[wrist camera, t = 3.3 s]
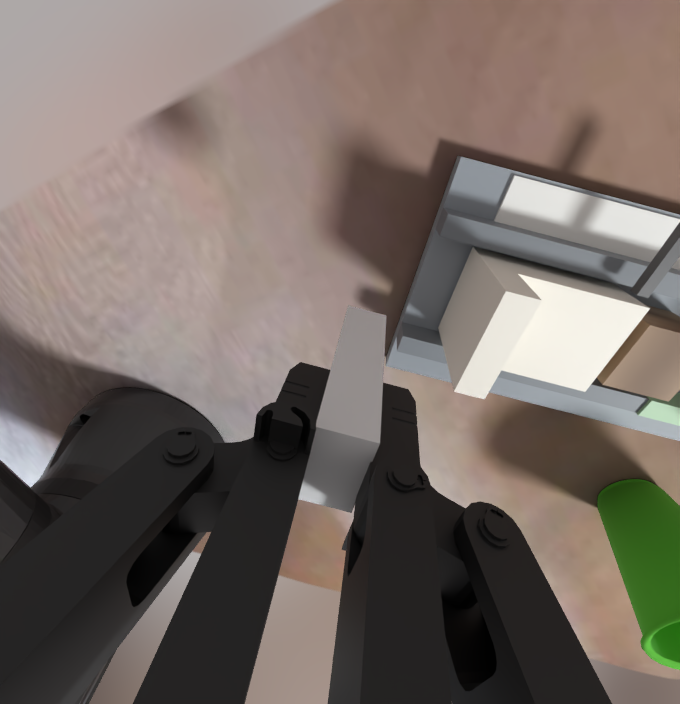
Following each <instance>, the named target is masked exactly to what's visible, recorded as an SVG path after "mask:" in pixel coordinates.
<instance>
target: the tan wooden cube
mask: <svg viewBox="0 0 680 704" xmlns="http://www.w3.org/2000/svg"><path fill="white" fill-rule="evenodd" d="M646 306H647V307H649V308H650V309H649V311H648V312H647V313H646V315H645V316H644V317H643V318H642V320H641V321H640V322H639V324H638V325H637V326H636V327H635V329H634V330H633V331H632V333H631V334H630V335H629V336H628V338H627V339H626V340H625V342H624V343H623V344H622V345H621V347H620V348H619V349H618V351H617V352H616V353H615V354H614V356H613V357H612V358H611V360H610V361H609V362H608V363H607V365H606V366H605V367H604V368H603V370H602V371H601V372H600V374H599V375H598V376H597V377H596V378H597V379H598V380H599V381H600V382H601V383H602V385H606V386H610V387H614V388H617V389H621V390H625V391H629V392H633V393H637V394H641V395H645V396H649V397H652V398H656V399H660V400H664V401H668V402H669V401H670V400H671V399H672V398H673V397H674V395H675V394H676V393H677V392H678V391H679V390H680V317H679V316H678V315H676V314H674V313H673V312H671V311H667V310H663V309H659V308H655V307H651V306H648V305H646Z"/></svg>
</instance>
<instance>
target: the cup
mask: <svg viewBox="0 0 680 704" xmlns="http://www.w3.org/2000/svg"><path fill="white" fill-rule="evenodd" d="M597 501H598V503H597V507H598V510H599V513H600V516H601V519H602V522H603V525H604V527H605V530H606V533H607V536H608V539H609V541H610V544H611V547H612V550H613V553H614V556H615V558H616V561H617V564H618V567H619V570H620V573H621V575H622V578H623V581H624V584H625V587H626V589H627V592H628V595H629V598H630V601H631V604H632V606H633V609H634V612H635V615H636V618H637V621H638V623H639V626H640V629H641V632H642V635H643V637H642V639H641V647H642V649H643V650H644V651H645V652H646V654H647V655H648V656H649V657H650V658H651V659H653V660H655V661H656V662H658V663H660V664H662V665H665V666H668V667H671V668H674V669H679V670H680V506H679V505H678V504H677V503H676V502H675V501H674V500H673V499H672V498H671V497H670V496H669V495H668V494H667V493H666V492H665V491H664V490H662V489H661V488H660V487H659V486H656V485H654V484H653V483H651V482H649V481H646V480H641V479H629V480H623V481H619V482H616V483H613V484H611V485H609V486H607V487H606V488H604V489H603V490H602V491H601V492H600V494H599V495H598V499H597Z"/></svg>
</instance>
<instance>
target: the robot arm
mask: <svg viewBox="0 0 680 704" xmlns="http://www.w3.org/2000/svg"><path fill="white" fill-rule="evenodd" d="M385 334H386V315H383V314H379V313H375V312H372V311H368V310H364V309H360V308H356V307H353V306H349V305H348V308H347V312H346V316H345V319H344V323H343V327H342V330H341V334H340V338H339V341H338V345H337V349H336V352H335V356H334V359H333V363H332V367H331V370H328V369H324V368H321V367H317V366H313V365H309V364H305V363H302V362H300V363H299V364H297V365H296V366H295V367H293V368H292V369H291V370H290V371H289V373H288V376H287V378H286V380H285V383H284V385H283V387H282V389H281V392H280V394H279V396H278V398H277V400H276V402H274V403H270V404H268V405H266V406H264V407H263V408H262V409H261V410H260V411H259V412H258V414H257V416H256V424H255V432H254V437H253V438H251V439H248V440H245V441H242V442H234V443H224V441H223V439H222V437H221V436H220V434H219V433H218V432H217V430H216V429H215V428H214V427H213V426H212V425H211V424H210V423H209V422H208V421H207V420H206V419H205V418H204V417H203V416H201V415H200V414H199V413H198V412H196V411H195V410H193V409H192V408H190V407H189V406H187V405H185V404H184V403H182V402H180V401H178V400H176V399H174V398H171V397H169V396H166V395H164V394H161V393H158V392H154V391H150V390H145V389H138V388H118V389H113V390H109V391H106V392H103V393H101V394H99V395H98V396H96V397H95V398H94V399H92V400H91V401H90V402H89V403H88V404H87V405H86V406H85V407H84V408H82V409H81V410H80V411H79V412H78V413H77V414H76V415H75V417H74V418H73V419H72V421H71V423H70V424H69V426H68V428H67V430H66V432H65V434H64V435H63V437H62V439H61V441H60V443H59V445H58V447H57V448H56V450H55V452H54V454H53V456H52V458H51V460H50V461H49V463H48V465H47V467H46V469H45V471H44V473H43V475H42V476H41V477H40V479H39V480H38V481H37V482H36V483H35V484H34V485H33V486H32V487H31V488H30V487H29V486H28V485H27V484H26V483H25V482H24V481H23V480H21V479H20V478H19V477H18V476H17V475H16V474H15V473H14V472H13V471H12V470H11V469H9V468H8V467H7V466H6V465H5V464H4V463H3V462H2V461H1V460H0V704H89V702H90V700H91V698H92V696H93V694H94V692H95V690H96V688H97V687H98V684H99V683H100V681H101V679H102V676H103V675H104V673H105V671H106V669H107V667H108V665H109V663H110V661H111V659H112V657H113V655H114V653H115V652H116V650H117V648H118V647H119V645H120V644H121V643H122V642H123V640H124V639H125V638H126V636H127V635H128V634H129V632H130V631H131V630H132V628H133V627H134V626H135V624H136V623H137V622H138V621H139V619H140V618H141V617H142V615H143V614H144V613H145V611H146V610H147V609H148V608H149V606H150V605H151V604H152V602H153V601H154V600H155V598H156V597H157V596H158V595H159V593H160V592H161V591H162V589H163V588H164V587H165V586H166V584H167V583H168V582H169V580H170V579H171V578H172V576H173V575H174V574H175V572H176V571H177V570H178V569H179V567H180V566H181V565H182V563H183V562H184V561H185V559H186V558H187V557H188V556H189V554H190V553H191V552H192V550H193V549H194V548H195V546H196V545H197V544H198V543H199V541H200V540H201V539H202V537H203V536H204V535H205V533H206V532H211V534H210V536H209V539H208V541H207V543H206V545H205V547H204V550H203V552H202V554H201V556H200V558H199V561H198V563H197V565H196V567H195V569H194V572H193V574H192V576H191V578H190V580H189V583H188V585H187V587H186V589H185V591H184V593H183V595H182V598H181V600H180V602H179V605H178V606H177V609H176V611H175V613H174V615H173V618H172V619H171V622H170V624H169V626H168V628H167V630H166V633H165V635H164V637H163V639H162V641H161V643H160V646H159V648H158V650H157V652H156V654H155V657H154V659H153V661H152V663H151V665H150V668H149V670H148V672H147V674H146V677H145V679H144V681H143V683H142V685H141V687H140V689H139V692H138V694H137V696H136V698H135V700H134V702H133V704H245V700H246V696H247V692H248V688H249V685H250V681H251V677H252V673H253V669H254V666H255V661H256V658H257V654H258V650H259V646H260V643H261V639H262V635H263V631H264V628H265V624H266V620H267V616H268V612H269V609H270V604H271V601H272V597H273V593H274V589H275V586H276V582H277V578H278V574H279V570H280V567H281V563H282V559H283V555H284V551H285V548H286V544H287V540H288V536H289V532H290V529H291V525H292V521H293V517H294V513H295V509H296V506H297V502H298V499H300V500H304V501H308V502H312V503H316V504H320V505H323V506H327V507H331V508H335V509H339V510H343V511H346V512H350V513H352V510H353V508H354V505H355V511H354V520H353V522H352V525H351V527H350V529H349V532H348V534H347V536H346V539H345V541H344V544H343V547H342V550H346V557H345V565H344V573H343V582H342V590H341V598H340V607H339V615H338V623H337V632H336V640H335V649H334V656H333V664H332V673H331V681H330V689H329V698H328V704H612V703H611V701H610V699H609V697H608V695H607V693H606V692H605V690H604V688H603V686H602V684H601V682H600V680H599V678H598V676H597V674H596V673H595V671H594V669H593V667H592V665H591V663H590V661H589V659H588V657H587V655H586V653H585V652H584V650H583V648H582V646H581V644H580V642H579V640H578V638H577V636H576V634H575V633H574V631H573V629H572V627H571V625H570V623H569V621H568V619H567V617H566V615H565V614H564V612H563V610H562V608H561V606H560V604H559V602H558V600H557V598H556V596H555V595H554V593H553V591H552V589H551V587H550V585H549V583H548V581H547V579H546V577H545V576H544V574H543V572H542V570H541V568H540V566H539V564H538V562H537V560H536V559H535V557H534V555H533V553H532V551H531V549H530V547H529V545H528V543H527V541H526V540H525V538H524V536H523V534H522V532H521V530H520V529H519V527H518V526H517V525H516V523H515V522H514V520H513V519H512V518H511V517H510V516H508V515H507V514H506V513H505V512H504V511H503V510H501V509H499V508H498V507H496V506H494V505H492V504H489V503H484V502H476V503H471V504H470V505H469V506H468V507H467V508H466V509H465V508H464V507H462V506H460V505H458V504H457V503H455V502H453V501H451V500H449V499H448V498H446V497H444V496H443V495H441V494H440V493H438V492H437V491H436V490H435V489H434V488H433V487H432V486H431V485H430V482H429V479H428V476H427V475H426V474H425V472H424V471H423V470H422V468H421V466H420V456H419V443H418V429H417V416H416V402H415V400H414V398H413V397H412V395H411V393H410V391H409V390H408V389H405V388H401V387H397V386H393V385H390V384H386V383H383V374H384V354H385Z"/></svg>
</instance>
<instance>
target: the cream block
mask: <svg viewBox="0 0 680 704" xmlns="http://www.w3.org/2000/svg"><path fill="white" fill-rule="evenodd" d="M679 257H680V222H679V224H678V225H677V227H676V228H675V229H674V231H673V232H672V233H671V235H670V236H669V238H668V239H667V240H666V242H665V243H664V245H663V246H662V247H661V249H660V250H659V251H658V253H657V254H656V256H655V257H654V258H653V260H652V261H651V263H650V264H649V265H648V267H647V268H646V269H645V271H644V272H643V274H642V275H641V276H640V278H639V279H638V281H637V282H636V283H635V285H634V286H633V287H632V289H631V290H630V291H631V292H633V293H635V294H636V295H639V296H642V297H646V298H649V296H650V295H651V294H652V292H653V291H654V290H655V289H656V287H657V286H658V285H659V283H660V282H661V281H662V279H663V278H664V277H665V275H666V274H667V273H668V271H669V270H670V269H671V268H672V266H673V265H674V264H675V262H676V261H677V260H678V258H679ZM649 309H650V308H649V307H647V306H646V305H644V304H643V303H641V302H640V301H638V300H637V299H635V298H634V297H632V296H631V295H629V294H628V293H626V292H625V291H623V290H622V289H620V288H619V287H617V286H616V285H614V284H613V283H610V282H606V281H602V280H598V279H595V278H591V277H587V276H583V275H579V274H576V273H572V272H568V271H564V270H560V269H556V268H553V267H549V266H545V265H541V264H537V263H534V262H530V261H526V260H522V259H518V258H514V257H511V256H507V255H503V254H499V253H495V252H492V251H488V250H484V249H480V248H476V247H473V248H472V250H471V252H470V255H469V257H468V259H467V262H466V264H465V266H464V269H463V271H462V273H461V276H460V278H459V280H458V283H457V285H456V287H455V290H454V292H453V294H452V297H451V299H450V301H449V304H448V306H447V308H446V311H445V313H444V315H443V317H442V320H441V322H440V324H439V327H438V329H439V333H440V337H441V341H442V345H443V349H444V353H445V357H446V361H447V365H448V369H449V373H450V377H451V381H452V385H453V389H454V392H458V393H462V394H466V395H470V396H473V397H477V398H481V399H485V398H486V396H487V394H488V393H489V391H490V389H491V387H492V386H493V384H494V382H495V381H496V379H497V377H498V375H499V374H500V372H501V370H502V371H506V372H510V373H513V374H517V375H521V376H525V377H529V378H533V379H537V380H541V381H545V382H549V383H552V384H556V385H560V386H564V387H568V388H572V389H576V390H580V391H584V392H586V390H587V389H588V388H589V386H590V385H591V384H592V383H593V381H594V380H595V379H596V377H597V376H598V375H599V374H600V372H601V371H602V370H603V368H604V367H605V366H606V365H607V363H608V362H609V361H610V360H611V358H612V357H613V356H614V354H615V353H616V352H617V351H618V349H619V348H620V347H621V345H622V344H623V343H624V342H625V340H626V339H627V338H628V336H629V335H630V334H631V333H632V331H633V330H634V329H635V327H636V326H637V325H638V324H639V322H640V321H641V320H642V318H643V317H644V316H645V315H646V313H647V312H648V311H649Z"/></svg>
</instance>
